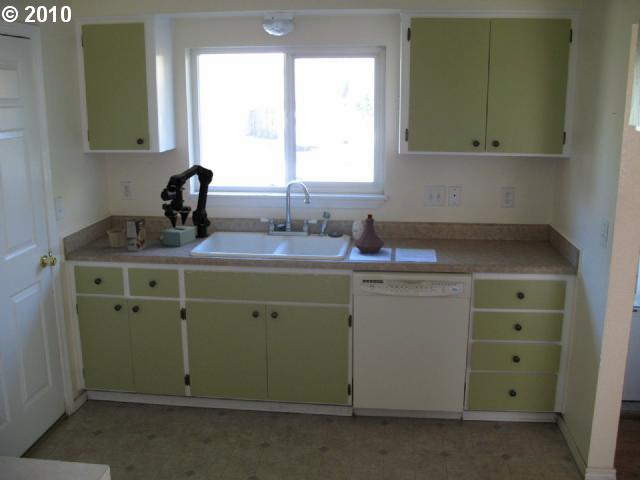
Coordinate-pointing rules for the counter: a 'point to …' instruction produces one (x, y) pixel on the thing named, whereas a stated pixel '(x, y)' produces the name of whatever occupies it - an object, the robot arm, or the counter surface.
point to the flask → (369, 238)
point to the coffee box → (136, 234)
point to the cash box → (178, 236)
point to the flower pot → (116, 237)
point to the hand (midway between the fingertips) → (178, 226)
